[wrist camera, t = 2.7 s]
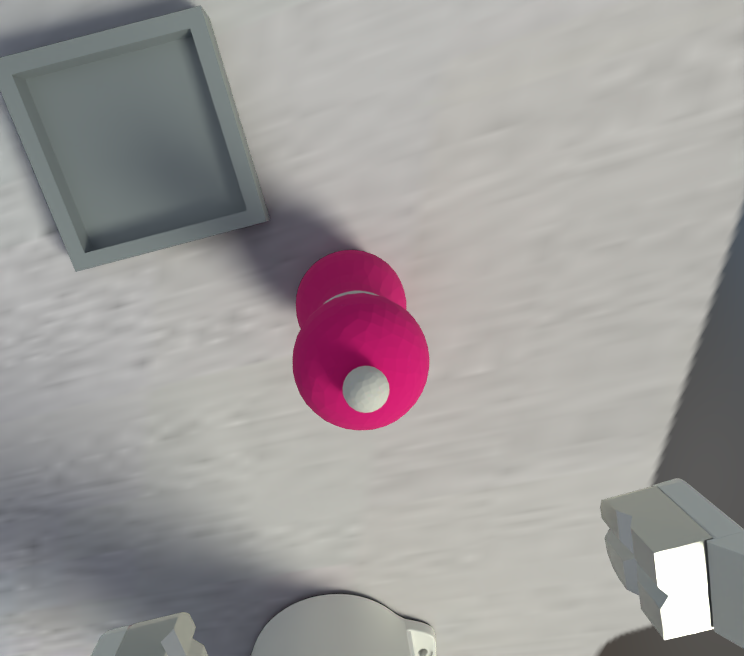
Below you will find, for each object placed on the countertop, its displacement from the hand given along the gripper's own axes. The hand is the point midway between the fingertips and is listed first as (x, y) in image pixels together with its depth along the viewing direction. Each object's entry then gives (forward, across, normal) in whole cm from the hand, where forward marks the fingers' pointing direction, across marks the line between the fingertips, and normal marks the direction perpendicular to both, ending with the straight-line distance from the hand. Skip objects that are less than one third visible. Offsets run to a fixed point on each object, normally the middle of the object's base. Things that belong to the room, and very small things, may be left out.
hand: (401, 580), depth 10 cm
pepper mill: (+29, 0, 0) cm, 29 cm away
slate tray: (+29, -11, +13) cm, 34 cm away
